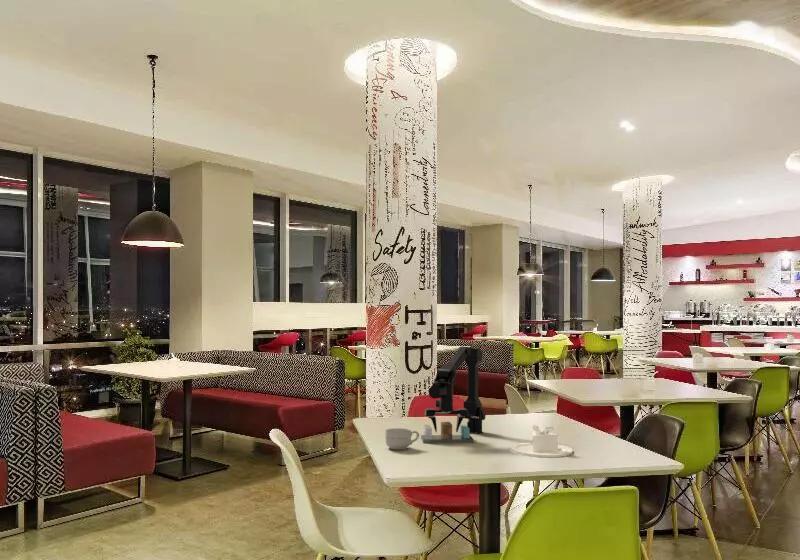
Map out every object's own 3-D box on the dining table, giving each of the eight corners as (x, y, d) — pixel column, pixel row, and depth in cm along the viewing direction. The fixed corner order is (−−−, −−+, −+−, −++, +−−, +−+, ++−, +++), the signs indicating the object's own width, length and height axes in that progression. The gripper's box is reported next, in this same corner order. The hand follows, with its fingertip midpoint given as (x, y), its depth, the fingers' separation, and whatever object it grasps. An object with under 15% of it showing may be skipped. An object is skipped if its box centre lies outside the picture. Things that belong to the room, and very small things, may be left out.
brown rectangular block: (449, 435, 288) (449, 421, 289) (452, 438, 280) (452, 424, 281) (440, 435, 288) (440, 421, 288) (443, 438, 280) (443, 424, 280)
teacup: (381, 450, 263) (381, 430, 264) (390, 445, 273) (390, 426, 274) (413, 452, 258) (413, 432, 259) (421, 447, 269) (422, 428, 269)
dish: (583, 457, 254) (582, 428, 255) (522, 459, 250) (522, 429, 251) (557, 444, 278) (557, 418, 279) (502, 446, 274) (502, 419, 275)
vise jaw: (465, 434, 290) (465, 424, 290) (469, 438, 280) (469, 428, 280) (460, 434, 289) (460, 424, 290) (463, 438, 279) (463, 428, 280)
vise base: (469, 438, 290) (469, 424, 290) (473, 442, 280) (473, 428, 280) (421, 438, 288) (421, 424, 289) (423, 442, 278) (423, 428, 279)
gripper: (464, 394, 294) (464, 428, 293) (423, 394, 293) (423, 428, 292) (468, 397, 283) (468, 433, 282) (426, 397, 281) (426, 433, 281)
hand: (446, 432), depth 284 cm, fingers open, 9 cm apart
